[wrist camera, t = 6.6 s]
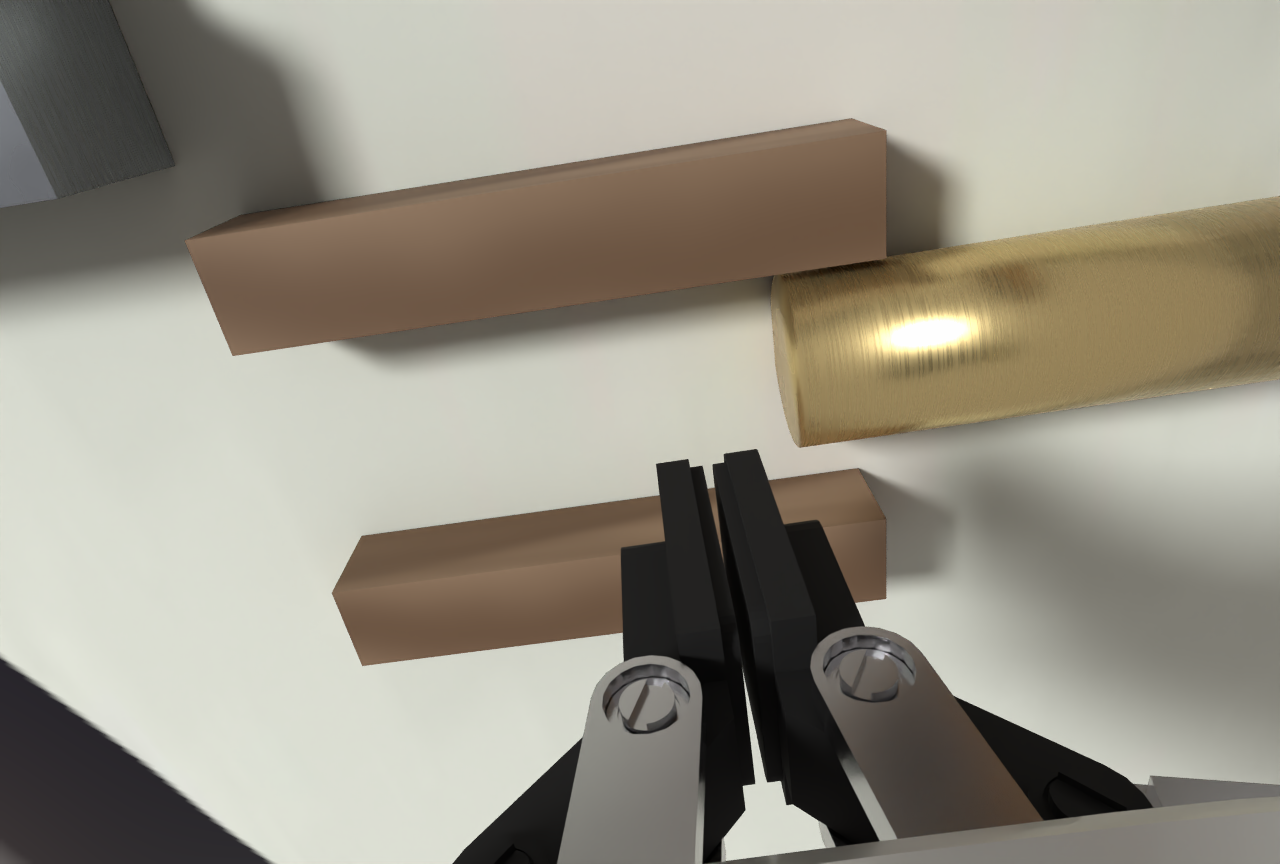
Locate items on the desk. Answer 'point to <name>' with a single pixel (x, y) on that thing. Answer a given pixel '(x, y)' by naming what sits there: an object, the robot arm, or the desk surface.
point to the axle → (1030, 324)
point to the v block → (70, 102)
